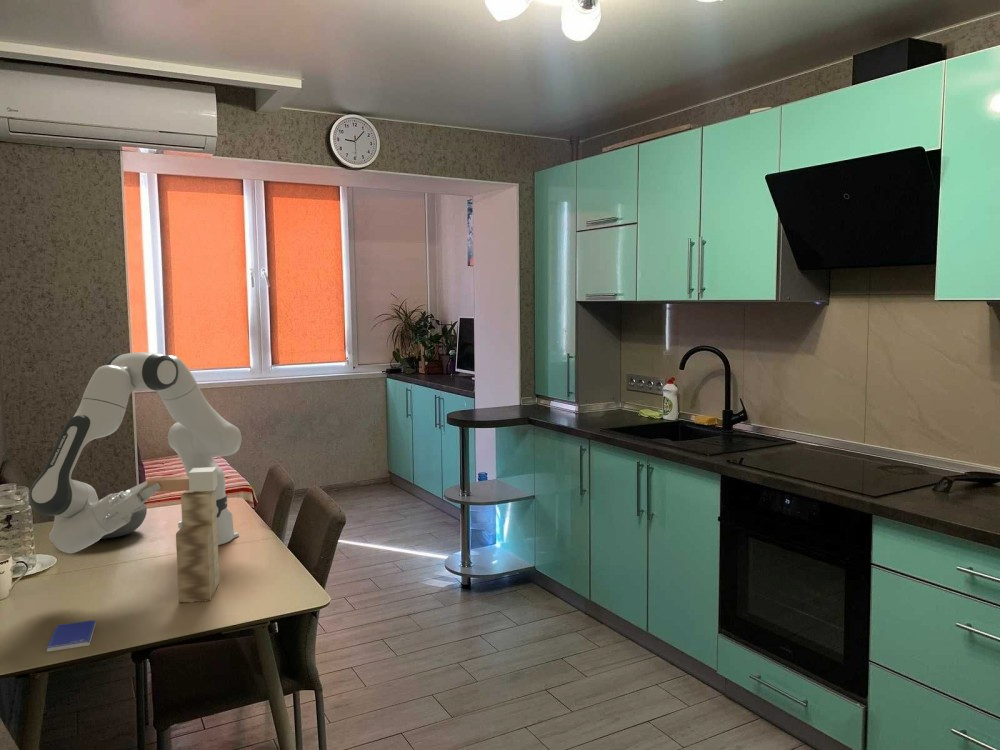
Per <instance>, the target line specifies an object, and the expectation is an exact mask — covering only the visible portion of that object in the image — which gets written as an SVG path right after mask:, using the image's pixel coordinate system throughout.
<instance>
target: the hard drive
mask: <svg viewBox="0 0 1000 750" xmlns="http://www.w3.org/2000/svg"><path fill="white" fill-rule="evenodd" d="M96 623H97V622H96V620H87V621H86V620H85V621H79V622H72V623H71V622H70V623H64V624H58V625H56V626H55V628H54V631H53V632H52V635H51V638H50V640H49V642H48V645H47V647H46V652H47V653H48V652H53V651H54V652H55V651H60V650H67V649H73V648H80V647H85V646H87V647H88V646H90V644H91V641H92V637H93V634H94V631H95V627H96V625H97V624H96Z"/></svg>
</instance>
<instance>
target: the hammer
mask: <svg viewBox="0 0 1000 750" xmlns="http://www.w3.org/2000/svg"><path fill="white" fill-rule="evenodd" d="M146 481H147V488H149V487H150V486H152V485H154V484H155V483H157V482H159V483H160V485H161V486H162V487H161V489H159V490H158V491H156V492H155V493H160V492H161V493H162V492H163V493H165V492H181V491H182V492H183V491H184V492H185V491H186V490H189V491H209V490H214V489H215V488H216V487H217V485H218V483H217V467H206V468H193V469H192V470H191V471H190V472H189V477H187V476H177V477H175V476H174V477H155V478H153V477H151V478H149V479H148V480H146Z"/></svg>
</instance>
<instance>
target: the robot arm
mask: <svg viewBox="0 0 1000 750" xmlns="http://www.w3.org/2000/svg"><path fill="white" fill-rule="evenodd" d="M134 391H137V392H142V391H143V392H144V391H157V393H158V394H157V395H159V398H160V400H161V401H162V403H163V405H164V406H165V408H166V409H167V412H168V413H169V415H170V417H171V418H172V420H174V421H176V422H175V423H174V424H173V425H172V426H171V427H170V428H169V429H168V434H167V442H168V445H169V447H170V448H171V449H172V450H173V451H175V452H176V454H177V456H178V457H179V459H180V461H181V463H182V466H183V467H184V471H185V474H186V477H189V472H190V471H191V470H192V469H193V468H206V467H217V483H218V485H217V487H216V488H215V489H216V509H217V534H218V546H220V545H224V544H226V543H229V542H230V541H232V540H233V539H235V538H237V537H239V536H240V534H239V532H238V531H235V528H234V519H233V518H234V517H233V512H232V511H231V510H229V508H228V497H227V495H226V477H225V472H224V470H223V469H222V468H221V467H220V466H219V465H218V464H217V463H216V461H215V459H214V457H216V458H217V457H218V458H219V457H220V458H221V457H227V456H233V455H235V453H237V452H238V451H239V449H240V447H241V444H242V440H243V439H242V438H243V437H242V433H241V430H240V429H239V427H237V426H236V425H234V424H233V423H231V422H229V421H227V420H226V419H225V418H224V417H222V415H220V414H219V412H218V411H216V409H215V408H214V407H213V406H211V405H210V403H209V402H208V401H207V399H206V397H205V395H204V394H203V392H202V390H201V389H200V387H199V384H198V383H197V381H196V379H195V377H194V376H193V374H192V372H191V371H190V369H189V367H188V366H187V365H186V364H185V363H184V361H183V360H182V359H181V358H180V357H178V356H176V355H166V354H164V353H159V352H156V353H153V352H145V351H139V352H129V353H128V352H122V353H117V354H114V355H112V356H110V357H109V358H108V359H107V360H106V362H105V364H104V365H102V366H98V367H97V369H95V371H94V373H93V374H92V376H91V378H90V380H89V381H88V384H87V386H86V387H85V390H84V392H83V395H82V398H81V401H80V404H79V406H78V408H77V410H76V411H75V414H74V415H73V417H71V418H70V419H69V420H68V421H67V422H66V423H65V425H64V427H63V428H62V431H61V432H60V435H59V436H58V438H57V440H56V443H55V445H54V447H53V448H52V451H51V453H50V456H49V457H48V459H47V462H46V464H45V466H44V468H43V470H41V473H40V474H39V476H38V477H37V478H36V479H35V480H34V482H33V484H32V485H31V487H30V489H29V494H28V501H29V505H30V507H31V509H32V510H33V511H34V512H35V513H37V514H39V515H41V516H52V517H53V516H54V520H53V521H54V522H53V525H52V529H51V530H50V532H49V534H48V538H49V541H50V542H51V544H52V546H53V547H55V548H56V549H57V550H59V552H61V553H62V552H63V553H65V554H74V553H77V552H80V551H81V550H85V549H86V548H88V547H90V546H91V545H93V544H95V543H97V542H98V541H100V539H102V538H101V537H103V536H104V535H106V534H109V533H112V532H114V531H115V530H117V529H119V528H120V527H122V526H124V525H125V524H127V523H129V522H130V520H131V516H132V515H133V512H134V511H135V510H137V509H138V508H139V507H140V506H141V505H142V504H143V503H144V504H145V503H146V502H147V501H148V500H149V499H150V498H151V497H152V496H153V495H154V494H155V493H157V492H156V491H158V490H159V489H161V487H162V486H161V485H160V483H159V482H157V483H155V484H154V485H152V486H150V487H149V488H147V481H148V480H146V481H143V482H141V483H139V484H137V485H135V486H133V487H131V488H129V489H127V490H125V491H124V490H121V491H119V492H114V493H109V494H107V495H106V496H104V497H103V498H101V499H99V495H98V492H97V490H96V489H95V488H94V487H93V486H92V485H91V484H88V483H86V482H82V481H79V480H77V479H72V473H73V470H74V469H75V467H76V464H77V462H78V460H79V457H80V456H81V453H82V451H83V449H84V447H85V446H87V444H89V442H91V441H94V440H95V439H96V440H97V439H101V438H104V437H105V438H106V437H107V436H109V435H112V434H113V433H115V432H116V431H118V429H119V427H120V426H121V424H122V422H123V421H124V420H123V419H124V416H125V413H126V410H127V407H128V404H129V400H130V395H131V394H132V393H133V392H134ZM177 523H178V526H177V527H178V530H179V529H180V528H181V527H182V520H180V521H178V522H177Z"/></svg>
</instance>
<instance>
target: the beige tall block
mask: <svg viewBox="0 0 1000 750" xmlns="http://www.w3.org/2000/svg"><path fill="white" fill-rule="evenodd" d="M180 503H181V504H180V505H181V521H182V527H181V528H180V529H179V528H178V530H177V531H176V533H175V544H176V545H175V546H176V564H177V565H176V566H177V570H176V571H177V589H178V604H182V603H181V602H189V603H195V602H194V601H203V602H208V601H207V600H210V599H211V600H212V598H213V597H214V594H215V592H216V590H217V589H218V587H217V586H219V585H220V565H219V564H220V563H219V561H220V560H219V545H218V534H217V509H216V489H214V490H209V491H189V490H186V491H184V492H183V493H182V494H181V495H180ZM218 584H219V585H218ZM216 588H217V589H216ZM205 600H206V601H205ZM211 600H210V601H211Z"/></svg>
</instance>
